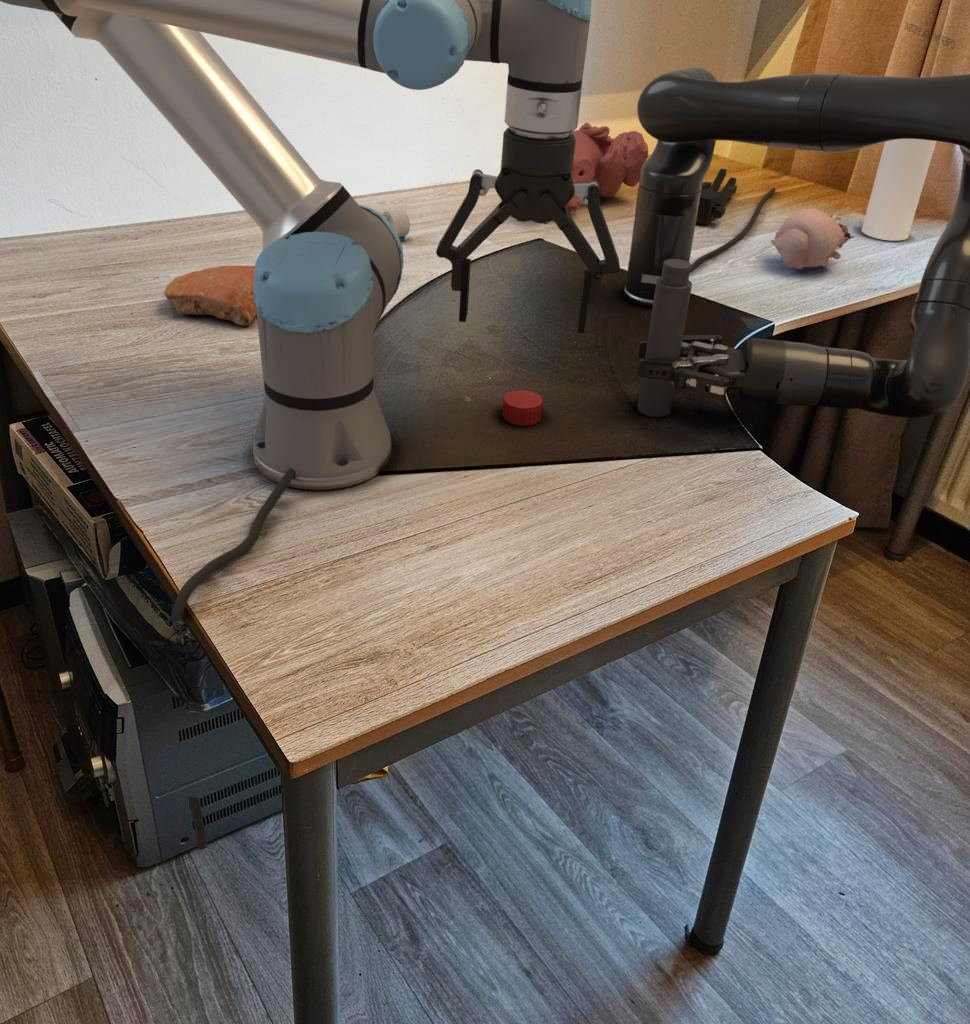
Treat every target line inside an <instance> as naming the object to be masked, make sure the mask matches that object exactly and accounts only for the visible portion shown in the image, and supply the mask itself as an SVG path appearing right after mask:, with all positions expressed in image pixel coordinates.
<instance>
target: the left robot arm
mask: <svg viewBox="0 0 970 1024" xmlns="http://www.w3.org/2000/svg"><path fill="white" fill-rule="evenodd" d="M592 1H593V0H0V2H1V3H4V4H7V5H11V6H16V7H24V8H28V9H29V8H30V9H35V10H38V11H39V10H40V11H45V12H50V13H54V15H55V16H56V17H57V18H58V19H59V21H60V22H61V23H62V24H63V25H64V27H66V29H67V30H68V31H70V33H71V34H72V35H73V36H74V37H75V38H79V39H84V40H85V39H86V40H90V41H96V42H98V43H100V45H101V47H103V48H104V50H106V52H107V54H109V55H110V57H111V58H113V60H114V61H115V62H116V64H117V65H118V66H119V67H120V68H121V69H122V70H123V71H124V72H125V74H126V75H127V76H128V77H129V78H130V79H131V81H132V82H134V84H135V85H136V86H137V87H138V88H139V90H140V91H141V92H142V93H143V94H144V95H145V97H146V98H147V99H148V101H150V102H151V103H152V105H153V106H154V107H155V108H156V110H158V112H159V113H160V114H161V115H162V116H163V117H164V118H165V119H166V121H167V122H168V123H169V125H170V126H172V128H173V129H174V130H175V132H177V134H178V135H179V136H180V137H181V138H182V139H183V140H184V141H185V143H186V144H187V145H188V146H189V147H190V149H191V150H192V151H193V152H194V153H195V154H196V155H197V157H198V158H199V159H200V160H201V161H202V163H203V164H205V166H206V167H207V168H208V170H210V172H211V173H212V174H213V175H214V176H215V177H216V179H218V181H219V182H220V183H221V185H223V187H224V188H225V189H226V190H227V191H228V192H229V193H230V194H231V196H232V197H233V198H234V200H235V201H237V203H238V204H239V205H240V207H242V208H243V210H244V211H245V212H246V213H247V215H249V217H251V219H252V220H253V221H254V222H255V223H256V225H257V226H258V227H259V228H260V230H261V232H262V251H260V253H259V255H258V257H257V259H256V261H255V264H254V266H255V269H254V284H253V287H254V291H253V296H254V300H255V303H256V311H257V314H256V320H257V330H258V340H259V349H260V359H261V369H262V379H263V388H264V390H263V391H264V396H263V400H262V404H261V408H260V412H259V415H258V419H257V423H256V427H255V430H254V434H253V439H252V441H253V442H252V455H253V460H254V464H255V467H256V468H257V470H258V471H259V472H260V473H261V474H262V475H263V476H265V477H266V478H268V479H269V480H271V481H273V482H275V483H277V485H275V488H274V489H273V490H272V492H271V493H270V495H269V496H268V498H267V499H266V501H265V502H264V503H263V504H262V506H261V507H260V509H259V511H258V512H257V514H256V515H255V517H254V520H253V522H252V525H251V527H250V530H249V533H248V535H247V536H246V538H245V539H244V540H243V541H242V542H241V543H240V544H238V545H236V547H234V548H232V549H230V550H229V551H226V552H224V553H222V554H221V555H219V556H217V557H215V558H214V559H212V560H210V561H209V562H208V563H206V564H205V565H204V566H203V567H202V568H201V569H199V570H197V571H196V572H195V573H194V574H193V575H192V576H190V577H189V578H188V580H187V581H185V583H184V584H183V586H182V587H181V589H180V590H179V592H178V594H177V596H176V599H175V601H174V604H173V607H172V610H171V613H170V621H172V622H177V621H180V620H181V619H182V618H183V616H184V613H185V609H186V606H187V604H188V602H189V599H190V597H191V595H192V593H193V591H194V590H195V589H196V588H197V587H198V586H199V585H200V584H202V583H203V582H204V581H205V580H206V579H208V578H209V577H210V576H211V575H213V573H215V572H216V571H218V570H219V569H220V568H222V567H224V566H226V565H227V564H230V563H232V562H233V561H235V560H237V559H238V558H241V557H242V556H243V555H245V554H246V553H248V552H249V551H250V549H251V548H253V546H254V545H255V543H256V542H257V541H258V539H259V538H260V535H261V531H262V529H263V525H264V523H265V522H266V520H267V517H268V516H269V515H270V512H271V511H272V510H273V508H274V507H275V505H276V504H277V503H278V501H279V500H280V498H281V496H282V495H283V494H284V492H285V491H286V489H287V488H288V487H290V488H295V489H301V490H312V491H314V490H315V491H323V490H327V491H328V490H337V489H342V488H348V487H351V486H355V485H358V484H361V483H363V482H366V481H368V480H370V479H373V478H374V477H375V476H377V475H378V474H380V473H381V472H382V471H383V470H384V469H385V468H386V467H387V466H388V464H389V463H390V461H391V458H392V437H391V432H390V430H389V427H388V424H387V422H386V419H385V417H384V413H383V411H382V408H381V406H380V403H379V400H378V398H377V395H376V393H375V385H374V333H375V332H374V331H375V329H376V327H377V325H378V323H379V321H380V320H381V318H382V316H383V314H384V312H385V310H386V309H387V306H388V305H389V303H390V302H391V301H392V300H393V298H394V297H395V295H396V294H397V292H398V289H399V287H400V283H401V280H402V273H403V270H404V251H403V245H402V242H401V240H400V239H399V237H398V234H397V233H396V231H395V229H394V228H393V226H392V225H391V223H390V222H389V221H388V220H387V219H386V218H385V217H384V216H383V215H382V213H380V212H379V211H378V210H376V209H374V208H372V207H369V206H365V205H361V204H359V203H358V202H357V200H356V199H355V198H354V197H353V196H352V195H351V194H350V192H349V191H348V190H347V188H346V187H345V186H344V185H343V184H342V183H341V182H337V181H330V180H323V179H322V178H320V177H319V176H318V174H317V173H316V172H315V171H314V170H313V168H312V167H311V166H310V165H309V163H308V162H307V161H306V160H305V159H304V158H303V156H302V155H301V154H300V152H299V151H298V150H297V149H296V148H295V146H294V145H293V144H292V143H291V141H290V140H289V139H288V138H287V137H286V136H285V134H284V133H283V132H282V130H281V129H280V128H279V127H278V126H277V124H276V123H275V122H274V121H273V120H272V118H271V117H270V115H268V114H267V112H266V111H265V110H264V109H263V107H262V106H261V105H260V104H259V102H258V101H257V100H256V99H255V97H254V96H253V95H252V94H251V93H250V92H249V90H248V89H247V88H246V86H245V85H244V84H243V83H242V82H241V80H240V79H239V78H238V76H237V75H235V73H234V72H233V71H232V69H230V67H229V66H228V65H227V63H226V62H225V61H224V60H223V59H222V57H221V56H220V54H218V53H217V51H216V50H215V49H214V48H213V47H212V45H211V44H210V43H209V41H208V40H207V39H206V38H205V36H204V35H203V34H202V33H204V34H208V35H212V36H218V37H222V38H227V39H232V40H235V41H241V42H245V43H250V44H253V45H259V46H263V47H266V48H267V47H268V48H271V49H277V50H282V51H286V52H289V53H295V54H299V55H303V56H304V55H305V56H308V57H313V58H317V59H322V60H327V61H330V62H331V61H332V62H336V63H340V64H345V65H349V66H353V67H359V68H362V69H367V70H370V71H373V72H376V73H382V74H385V75H386V76H387V77H388V78H389V79H390V80H391V81H393V82H395V83H396V84H397V85H399V86H401V87H402V88H406V89H409V90H415V91H422V90H429V89H433V88H436V87H438V86H440V85H443V84H444V83H445V82H446V81H448V80H450V79H452V78H453V77H454V76H455V75H456V74H457V73H459V71H460V70H461V68H462V67H463V66H464V64H465V61H466V62H467V61H469V62H482V63H484V62H485V63H492V64H507V67H508V74H507V81H506V93H505V94H506V95H505V97H506V98H505V109H504V110H505V111H504V123H505V124H506V125H507V128H505V130H504V131H503V133H502V135H503V136H502V147H501V148H502V149H501V160H500V170H499V173H498V175H497V176H496V175H490V174H486V173H484V172H483V171H482V170H481V169H478V168H477V169H474V170H473V171H472V174H471V176H470V180H469V185H468V191H467V193H466V195H465V197H464V199H463V200H462V202H461V204H460V205H459V207H458V208H457V211H456V212H455V214H454V216H453V218H452V219H451V221H450V223H449V224H448V226H447V228H446V230H445V232H444V234H443V235H442V237H441V238H440V240H439V242H438V246H436V247H437V248H436V250H435V254H436V256H437V257H438V258H440V259H445V260H448V261H449V262H450V263H451V279H450V280H451V281H450V287H451V290H452V291H453V292H460V295H459V311H458V312H459V313H458V322H460V323H466V322H467V319H468V318H467V317H468V313H469V298H470V297H469V296H470V281H471V263H472V258H469V256H470V255H472V254H473V252H475V251H476V250H477V249H478V247H480V246H481V244H482V243H483V242H484V241H486V240H487V239H488V238H489V237H490V236H491V235H492V234H493V233H494V232H495V230H497V228H499V227H500V226H501V225H503V224H504V223H505V222H506V221H507V220H508V219H509V218H510V217H511V218H513V219H515V220H516V222H520V223H525V222H534V223H537V224H541V225H546V224H547V223H549V222H551V221H553V222H554V223H555V225H556V226H557V228H558V229H559V230H560V231H561V232H562V233H563V235H564V236H565V238H566V240H568V242H569V244H570V245H571V247H572V248H573V250H574V251H575V253H576V254H577V255H578V257H579V258H580V259H581V261H582V263H583V264H584V265H585V267H586V268H587V269H584V270H583V278H582V286H581V292H580V293H581V294H580V300H579V307H578V308H579V309H578V317H577V325H576V326H577V332H576V333H577V334H585V331H586V330H585V329H586V324H587V323H586V322H587V315H588V307H589V306H588V305H589V304H592V305H597V304H598V302H599V299H600V293H601V286H602V279H603V277H605V276H606V275H609V274H618V273H619V272H620V270H621V266H620V259H619V255H618V253H617V249H616V246H615V244H614V241H613V238H612V235H611V231H610V229H609V226H608V223H607V221H606V217H605V215H604V212H603V209H602V206H601V204H600V197H599V195H600V191H599V183H598V181H596V180H591V181H590V182H589V183H580V184H574V183H573V180H572V169H573V160H574V151H575V143H576V138H575V137H574V135H573V133H571V132H572V131H576V130H578V129H577V128H578V126H579V117H580V107H581V97H582V91H583V90H582V89H583V87H582V85H583V78H584V70H585V63H586V57H587V56H586V55H587V47H588V39H589V32H590V25H591V16H592ZM491 189H494V190H495V192H496V194H497V195H498V197H499V199H500V200H501V201H500V202H499V204H497V205H496V207H494V209H493V210H492V211H491V212H490V213H489V214H488V215H487V216H486V217H485V219H484V220H482V221H481V222H480V223H479V224H478V225H477V226H476V227H475V228H474V229H473V230H472V232H471V233H469V235H468V236H466V238H464V240H463V241H461V242H460V244H458V246H455V245H454V243H455V241H456V239H457V238H458V236H459V234H460V232H461V231H462V229H463V227H464V225H465V224H466V222H467V220H468V219H469V217H470V215H471V214H472V212H473V211H474V208H475V207H476V205H477V203H478V200H479V198H480V197H484V196H487V194H488V192H489V190H491ZM574 195H576V196H578V197H579V198H580V201H581V203H582V204H581V205H583V206H587V209H588V214H589V217H590V221H591V223H592V226H593V229H594V231H595V235H596V237H597V240H598V244H599V246H600V248H601V253H602V254H603V257H604V259H600V258H599V256H598V255H597V253H596V252H595V250H594V249H593V247H592V245H590V243H589V242H588V240H587V239H586V236H584V234H583V232H582V231H581V229H580V228H579V227H578V225H577V224H576V223H575V221H574V220H573V218H572V216H571V213H569V212H568V211H567V209H566V208H565V206H566V204H567V203H568V202H569V201H570V200H571V199H572V198H573V196H574ZM187 798H188V803H189V808H190V812H191V816H192V822H193V827H194V832H195V838H196V844H197V849H198V850H203V851H204V850H205V849H207V847H208V842H207V837H206V836H207V835H206V830H205V823H204V818H203V813H202V808H201V803H200V798H199V797H195V796H189V795H188V797H187Z"/></svg>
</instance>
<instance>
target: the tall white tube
mask: <svg viewBox="0 0 970 1024" xmlns="http://www.w3.org/2000/svg"><path fill="white" fill-rule="evenodd" d="M904 30H905V31H907V32H910V33H912V32H913V34H915V33H916V34H917V35H918V36H921V37H923V38H924V37H925V39H928V40H930V41H931V40H932V41H933V42H937V40H938V44H939V43H940V44H942V45H943V46H946V47H947V48H948V47H949V49H950V48H951V49H952V50H953V49H954V48H955V45H956V40H954V39H951V38H948V37H946V36H942V37H941V34H938V35H937V33H934V32H933V31H931V30H926V29H923V34H921V31H922V27H920V26H918V25H915V24H912V23H909V22H908V21H907V22H905V26H904ZM927 33H928V35H927ZM940 37H941V38H940ZM940 39H941V42H940ZM945 39H946V40H945ZM944 42H945V43H944ZM952 43H954V44H953V46H952ZM936 145H937V141H930V140H920V139H897V140H891V141H886V142H884V145H883V148H882V151H881V155H880V159H879V163H878V166H877V170H876V174H875V177H874V182H873V185H872V189H871V193H870V196H869V201H868V203H867V208H866V212H865V215H864V220H863V222H862V227H861V232H862V233H863V234H864V235H866V236H868V237H871V238H873V239H878V240H884V241H893V242H895V241H897V242H898V241H899V242H900V241H905V240H907V239H909V236H910V233H911V229H912V226H913V222H914V219H915V215H916V211H917V210H918V209H917V208H918V206H919V202H920V198H921V195H922V191H923V188H924V184H925V182H926V178H927V175H928V171H929V169H930V165H931V161H932V158H933V155H934V151H935V148H936Z"/></svg>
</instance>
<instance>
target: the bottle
mask: <svg viewBox="0 0 970 1024" xmlns="http://www.w3.org/2000/svg"><path fill="white" fill-rule="evenodd" d="M691 265H692V263H690V261H689V262H687V261H685V260H681V259H668V260H665V261H664V264H663V269H662V277H659V278H658V279H657V281H656V288H655V295H654V301H653V307H651V308H652V309H651V315H650V322H649V328H648V334H647V335H648V336H647V340H646V341H647V348H646V354H645V358H648V359H657V360H667V361H671V365H672V362H675V361H679V357H680V351H681V345H682V340H683V335H684V334H685V327H686V322H687V316H688V311H689V304H690V298H691V293H692V287H693V283H692V281H691V280H690V279H689V278H690V274H691V272H690V270H691V267H692V266H691ZM674 392H675V384H671V383H670V382H669V380H663V379H653V378H643V377H641V381H640V388H639V394H638V402H637V410H638V411H639V412H640V413H641V414H642V415H644V416H648V417H654V418H661V417H666V416H668V415H669V414H670V413H671V408H672V403H673V402H672V401H673V397H674Z"/></svg>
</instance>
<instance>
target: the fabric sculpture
mask: <svg viewBox="0 0 970 1024" xmlns="http://www.w3.org/2000/svg"><path fill="white" fill-rule="evenodd" d="M610 130H611V129H610V127H608V126H607V125H605V126H604V125H602V126H600V127H598V126H592V125H591V124H590V123H589V122H585V123H584V124H581V126H580V127H579V129H575V130H574V131H572V132H571V133H573V135H574V137H575V138H576V143H575V151H574V160H573V169H572V180H573V183H574V184H580V183H589V182H590V181H591V180H596V181H598V183H599V191H600V195H599V198H600V197H604V198H606V197H608V198H610V197H613V196H614V195H617V194H618V192H619V191H620V189H621V186H622V184H624V185H625V186H627V187H631V188H635V187H636V186H637V185H639V180H640V173H641V168H642V166H643V164H644V163H645V162H646V160H647V159H648V158H649V146H648V143H647V142H646V141H645V139H644V135H643V134H642V132H638V131H636V130H631V131H628V132H627V131H624V132H621V133H618V135H617V136H615V137H614V138H612V137H611V136H610V135H609V134H610ZM582 205H583V204H582V203H581V201H580V198H579V197H578V196H576V195H574V196H573V198H572V199H571V200H570V201H569V202H568V203H567V204H566V206H565V208H566V209H567V211H568V212H569V214H571V213H573V212H575V211H578V209H579V208H581V206H582Z"/></svg>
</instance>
